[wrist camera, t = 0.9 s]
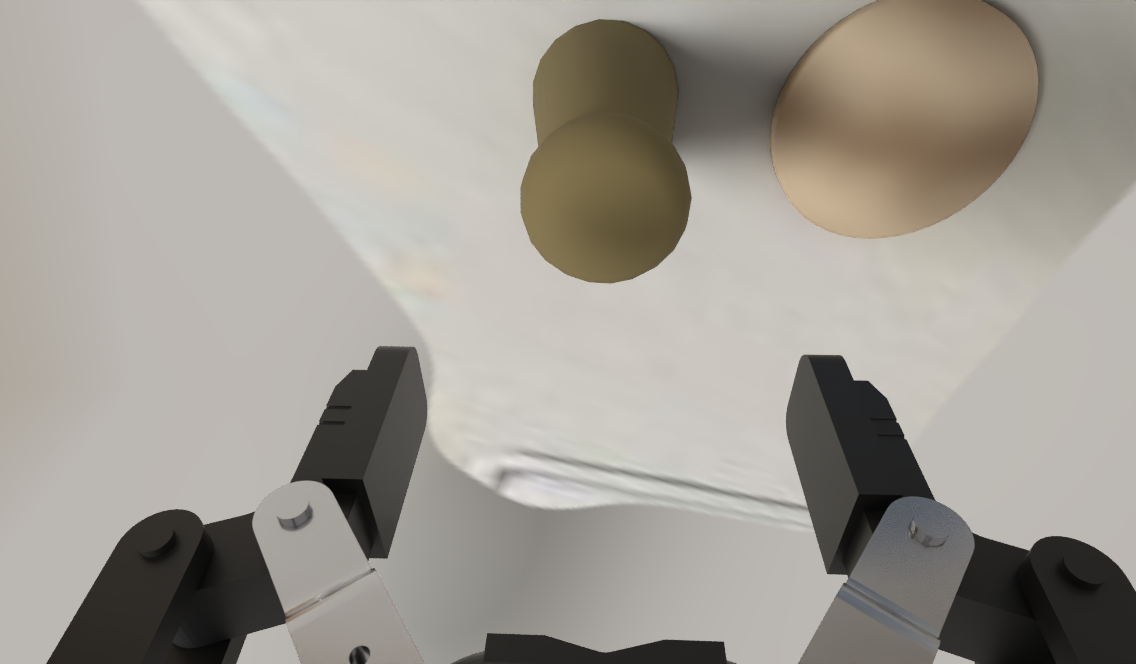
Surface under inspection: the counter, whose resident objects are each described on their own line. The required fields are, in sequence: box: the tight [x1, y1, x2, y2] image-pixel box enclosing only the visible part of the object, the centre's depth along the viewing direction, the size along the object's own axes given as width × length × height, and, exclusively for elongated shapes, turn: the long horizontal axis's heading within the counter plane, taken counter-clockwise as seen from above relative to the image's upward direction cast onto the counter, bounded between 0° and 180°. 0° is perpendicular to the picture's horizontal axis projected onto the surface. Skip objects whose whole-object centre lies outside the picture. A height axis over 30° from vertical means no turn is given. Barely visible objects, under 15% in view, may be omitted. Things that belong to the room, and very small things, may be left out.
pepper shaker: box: [521, 20, 692, 283], centre depth 24 cm, size 6×6×11 cm
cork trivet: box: [770, 0, 1039, 239], centre depth 28 cm, size 10×10×1 cm
